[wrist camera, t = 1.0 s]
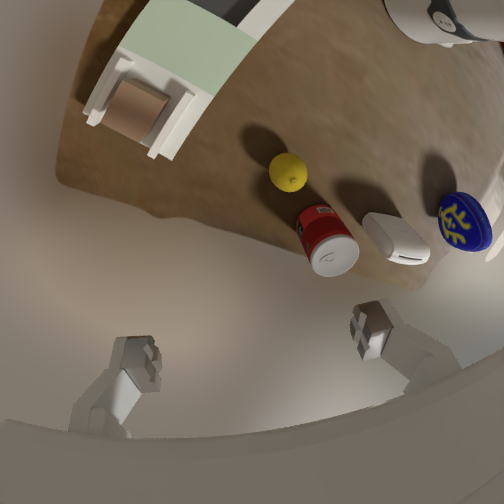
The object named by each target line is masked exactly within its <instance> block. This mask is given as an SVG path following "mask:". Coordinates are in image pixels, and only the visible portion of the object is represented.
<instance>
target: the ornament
mask: <svg viewBox="0 0 504 504" xmlns="http://www.w3.org/2000/svg"><path fill="white" fill-rule="evenodd" d="M438 223H439V228H440V231H441V234H442V236H443V238H444V239H445V240H446V242H447V243H449V244H450V245H452V246H453V247H455V248H458V249H460V250H464V251H470V252H476V251H481V250H484V249H486V248H487V247H489V245H490V244H491V242H492V230H491V226H490V223H489V220H488V217H487V215H486V213H485V211H484V210H483V208H482V207H481V205H480V204H479V203H478V201H477V200H476V199H475V198H473V197H472V196H471V195H469V194H467V193H464V192H452V193H450V194H448V195H446V196H445V197H444V198H443V199H442V201H441V203H440V206H439V211H438Z"/></svg>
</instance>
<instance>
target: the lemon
mask: <svg viewBox="0 0 504 504" xmlns="http://www.w3.org/2000/svg"><path fill="white" fill-rule="evenodd" d="M269 176H270V178H271V181H272V182H273V183H274V185H275V186H276V187H278V188H279V189H280V190H283V191H286V192H294V191H297V190H299V189H300V188H302V187H303V186H304V184H305V182H306V180H307V168H306V166H305V164H304V162H303V161H302V160H301V158H300V157H298V156H297V155H295V154H292V153H282V154H279V155H277V156H276V157H275V158H274V159H273V160H272V161H271V163H270V166H269Z"/></svg>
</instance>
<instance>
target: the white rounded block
mask: <svg viewBox="0 0 504 504" xmlns="http://www.w3.org/2000/svg"><path fill="white" fill-rule="evenodd" d="M362 226H363V227H362V228H363V230H364V231H365V233H366V234H367V235H368V236H369V238H370V239H371V240H372V242H373V243H374V244H375V246H376V247H377V248H378V250H379V251H380V252H381V254H382V255H383V256H384V257H385V258H386V259H388V260H390V261H393V262H396V263H401V264H407V265H408V264H409V265H417V264H422V263H425V262H427V260H428V258H429V257H430V248H429V246H428V244H427V243H426V242H425V241H424V240H423V239H422V238H421V237H420V236H419V235H418V233H417V232H416V231H415V230H414V229H413V228H412V227H411V226H410V225H409V224H408V223H407V222H406V221H405V220H403V219H402V218H399V217H396V216H391V215H386V214H381V213H374V212H369V213H368V214H366V215H365V216H364V218H363V220H362Z"/></svg>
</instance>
